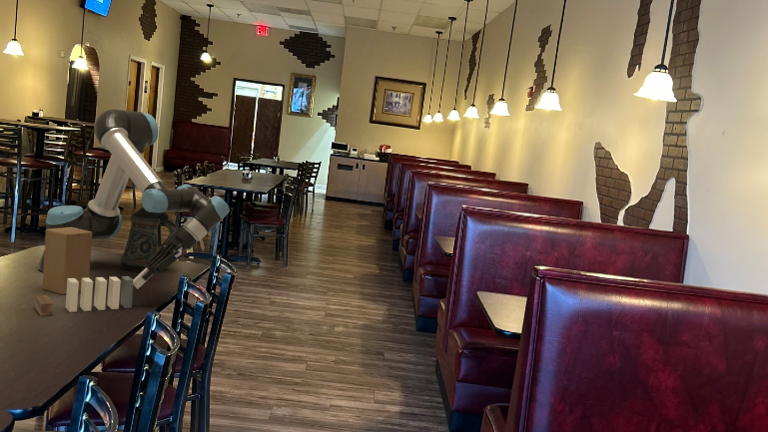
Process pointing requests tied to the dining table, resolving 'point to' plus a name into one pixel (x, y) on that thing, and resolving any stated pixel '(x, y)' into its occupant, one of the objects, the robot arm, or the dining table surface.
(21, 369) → the dining table surface
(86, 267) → the wooden block
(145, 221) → the beer stein
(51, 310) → the end block
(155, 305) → the dining table surface
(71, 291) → the domino
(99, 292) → the domino
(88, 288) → the domino
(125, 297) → the domino
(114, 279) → the domino
